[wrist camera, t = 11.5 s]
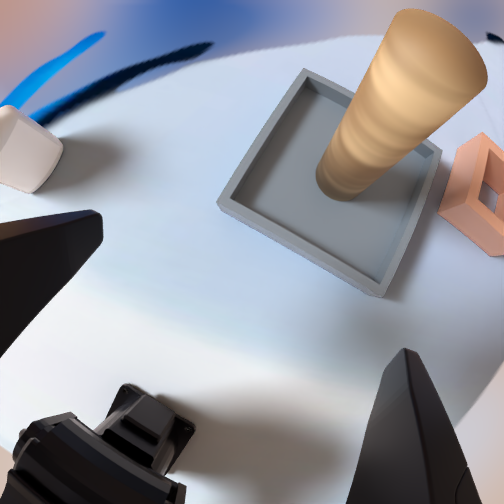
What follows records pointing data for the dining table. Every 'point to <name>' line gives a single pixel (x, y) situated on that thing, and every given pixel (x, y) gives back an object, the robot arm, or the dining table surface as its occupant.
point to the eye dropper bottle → (25, 151)
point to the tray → (316, 202)
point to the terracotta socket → (476, 194)
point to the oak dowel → (400, 101)
